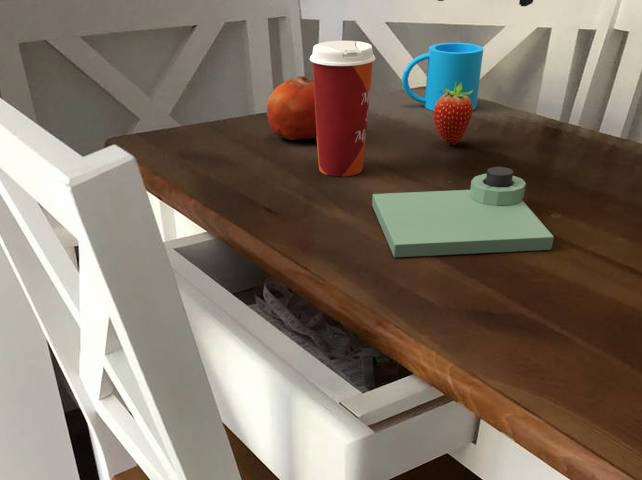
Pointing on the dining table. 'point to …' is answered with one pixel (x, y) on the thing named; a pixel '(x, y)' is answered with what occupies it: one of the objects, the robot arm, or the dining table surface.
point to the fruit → (453, 114)
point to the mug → (448, 71)
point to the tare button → (499, 177)
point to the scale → (461, 221)
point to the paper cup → (341, 104)
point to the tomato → (293, 109)
